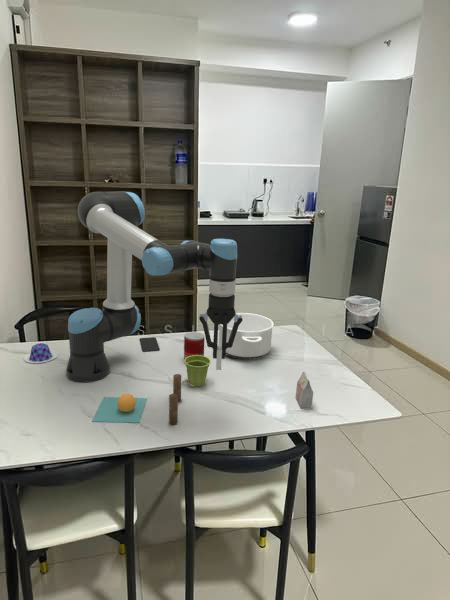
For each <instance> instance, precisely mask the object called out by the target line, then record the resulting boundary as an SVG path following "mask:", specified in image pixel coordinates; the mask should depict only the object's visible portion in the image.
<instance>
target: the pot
mask: <svg viewBox="0 0 450 600" xmlns="http://www.w3.org/2000/svg"><path fill="white" fill-rule="evenodd" d="M236 314H237V315H239V316H242V322H241V323H240V325H239V326H238V329H237V333H236V336H235V339H234V342H233V345H232V347H231V348H227V349H226V356H227V357H231V358H233V359H239V360H256V359H260V358H264V357H265V356H266V355H267V354H268V353H269V352H270V351H271V347H272V336H273V328H274V325H275V324H274V321H273V320H272V319H270V318H268V317H266V316H264V315H260V314H257V313H251V312H236ZM233 325H234V317H233V319H232V320H231V321H230V322H229V323H228V324H227V338H226V343H227V342H228V341H229V337H230V334H231V331H232V328H233ZM222 330H223V325H222V324H219V325H218V346H222Z"/></svg>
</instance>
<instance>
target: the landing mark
mask: <svg viewBox="0 0 450 600" xmlns="http://www.w3.org/2000/svg"><path fill="white" fill-rule="evenodd" d="M120 397H121V396H120ZM120 397H119V396H104V397H103V398H102V399H101V402H100V404H99V406H98V408H97V410H96V412H95V414H94V416H93V418H92V420H91V422H92V423H94V422H95V423H121V424H122V423H123V424H124V423H126V424H129V423H130V424H140V422H141V418H142V415H143V412H144V409H145V406H146V402H147V397H134V398H135V400H136V405H135V407H134V409H133V410H131V411H130V412H123V411H121V410H120V409H119V408H118V399H119V398H120Z"/></svg>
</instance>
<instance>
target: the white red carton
mask: <svg viewBox="0 0 450 600" xmlns="http://www.w3.org/2000/svg"><path fill="white" fill-rule="evenodd" d="M296 382H297V383H296V390H295V400H296V402H297V404H298V407H299V409H301V410H305V409H307V410H308V409H309V410H311V409H312V405H313V398H314V391H313V389H312V386H311V384H310V380H309V378H308V376H307V375H306V371H302V373H301V375H300V377H299V379H298V380H297V381H296Z"/></svg>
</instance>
